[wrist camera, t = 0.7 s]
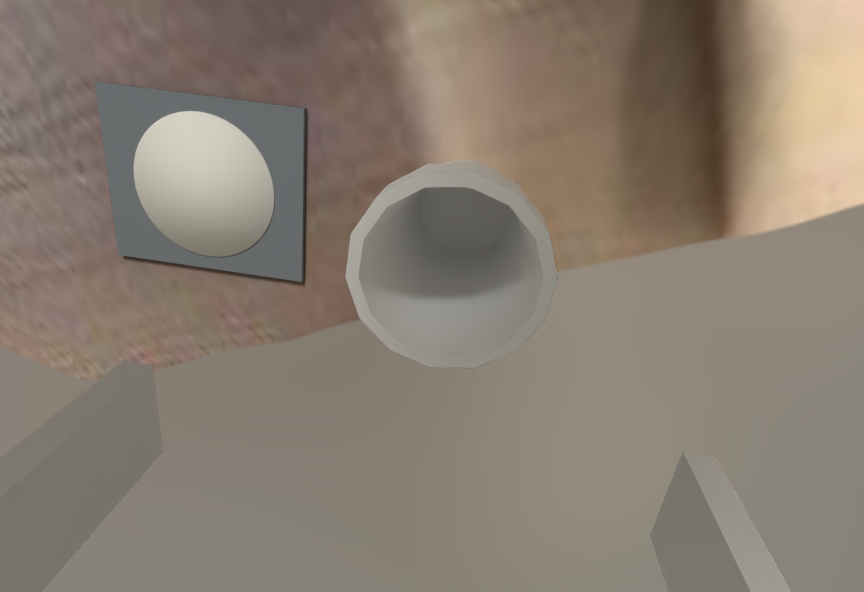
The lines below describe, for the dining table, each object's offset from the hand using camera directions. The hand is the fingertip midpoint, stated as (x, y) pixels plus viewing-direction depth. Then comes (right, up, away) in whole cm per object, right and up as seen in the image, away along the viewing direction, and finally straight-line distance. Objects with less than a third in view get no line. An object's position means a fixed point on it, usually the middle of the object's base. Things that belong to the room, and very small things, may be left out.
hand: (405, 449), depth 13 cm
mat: (-15, +11, +24) cm, 30 cm away
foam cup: (+3, +10, +22) cm, 25 cm away
